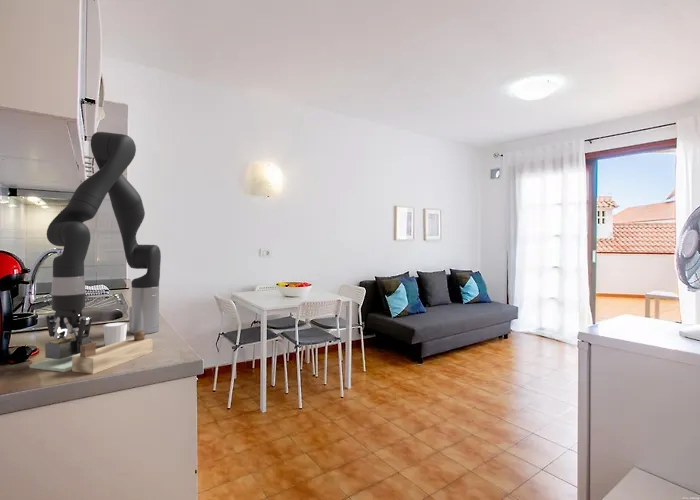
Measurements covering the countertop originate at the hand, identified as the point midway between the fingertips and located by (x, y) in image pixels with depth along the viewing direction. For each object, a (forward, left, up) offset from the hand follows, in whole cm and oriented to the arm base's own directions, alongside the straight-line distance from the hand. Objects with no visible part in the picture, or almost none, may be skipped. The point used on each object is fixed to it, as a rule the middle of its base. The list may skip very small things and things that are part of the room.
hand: (68, 352), depth 104 cm
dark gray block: (0, 0, 0) cm, 0 cm away
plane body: (+11, +5, -3) cm, 12 cm away
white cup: (-3, +18, -3) cm, 19 cm away
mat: (0, 0, -3) cm, 3 cm away
